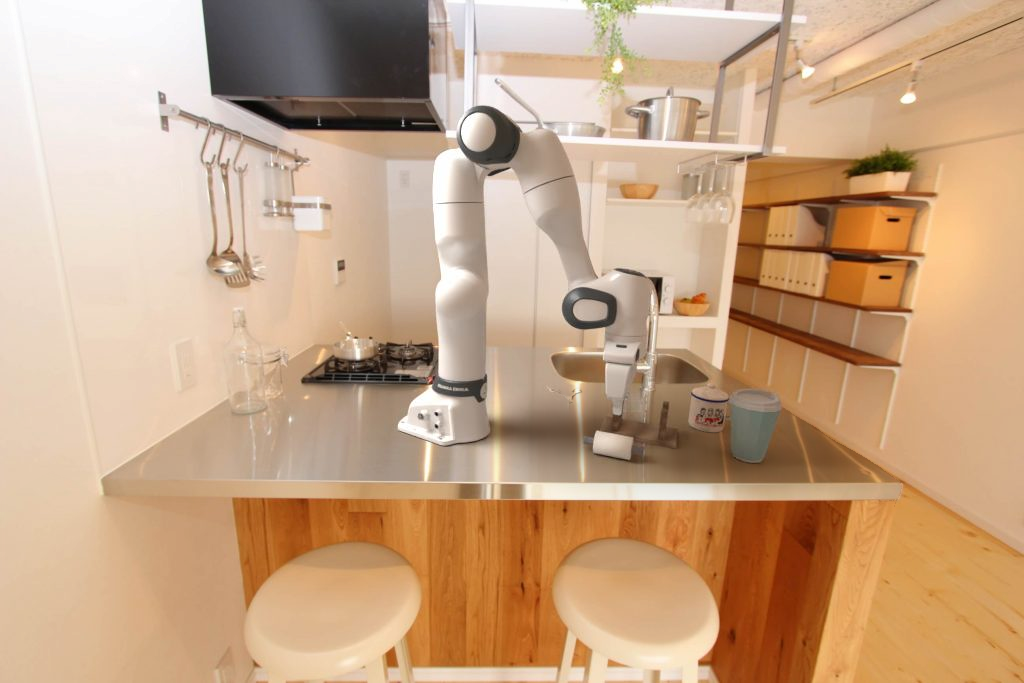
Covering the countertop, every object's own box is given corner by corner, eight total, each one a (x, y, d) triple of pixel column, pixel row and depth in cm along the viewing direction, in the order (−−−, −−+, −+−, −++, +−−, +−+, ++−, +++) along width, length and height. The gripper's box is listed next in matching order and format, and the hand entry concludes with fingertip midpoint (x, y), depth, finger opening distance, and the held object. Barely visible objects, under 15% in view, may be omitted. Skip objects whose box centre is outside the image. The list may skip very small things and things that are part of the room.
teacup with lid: (691, 431, 121) (697, 388, 118) (683, 418, 129) (688, 377, 127) (741, 435, 119) (748, 391, 117) (729, 421, 128) (735, 380, 125)
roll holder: (598, 434, 117) (601, 403, 115) (606, 419, 126) (608, 390, 124) (675, 448, 111) (679, 416, 109) (677, 432, 120) (681, 402, 118)
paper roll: (583, 454, 109) (580, 445, 105) (587, 433, 111) (585, 424, 107) (641, 466, 104) (641, 457, 100) (645, 444, 107) (645, 435, 103)
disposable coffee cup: (747, 471, 101) (759, 404, 98) (709, 449, 111) (718, 388, 108) (783, 463, 105) (795, 399, 102) (743, 443, 115) (753, 384, 112)
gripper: (618, 334, 113) (614, 390, 116) (601, 355, 94) (597, 420, 97) (645, 336, 110) (641, 393, 114) (634, 358, 92) (629, 425, 95)
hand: (620, 406), depth 105 cm, fingers open, 8 cm apart
